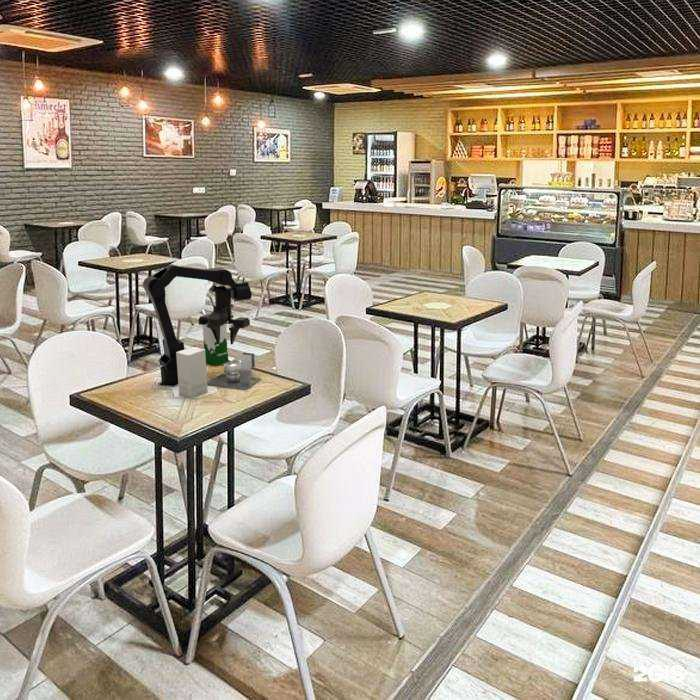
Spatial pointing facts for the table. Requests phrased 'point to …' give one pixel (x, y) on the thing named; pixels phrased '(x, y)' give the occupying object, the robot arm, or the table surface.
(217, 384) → the base
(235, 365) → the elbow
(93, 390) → the table surface
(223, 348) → the milk carton
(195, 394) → the skincare box
